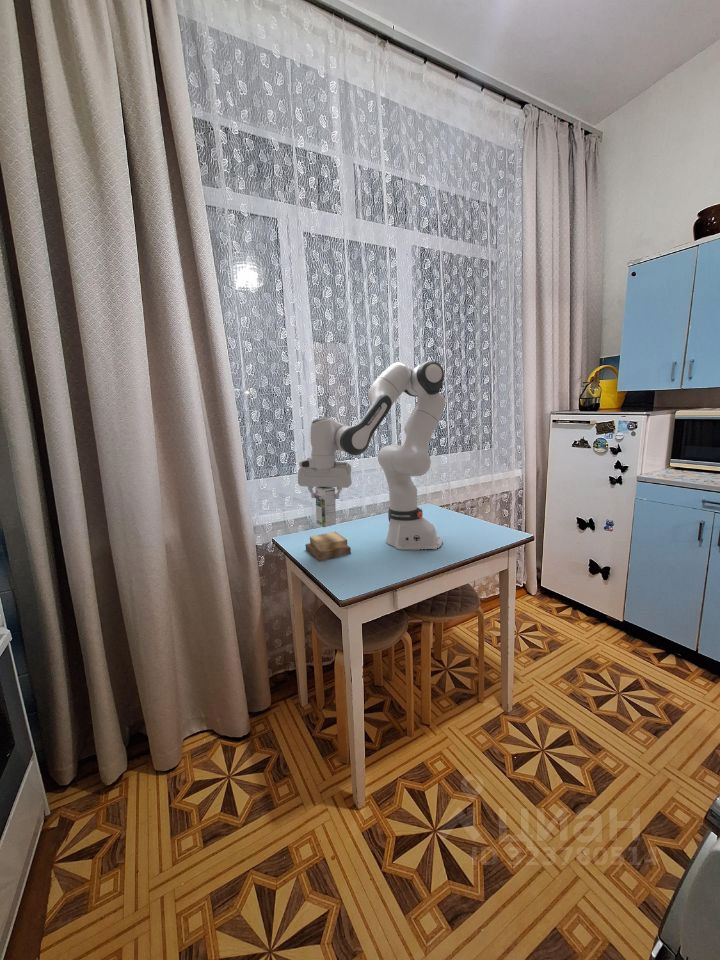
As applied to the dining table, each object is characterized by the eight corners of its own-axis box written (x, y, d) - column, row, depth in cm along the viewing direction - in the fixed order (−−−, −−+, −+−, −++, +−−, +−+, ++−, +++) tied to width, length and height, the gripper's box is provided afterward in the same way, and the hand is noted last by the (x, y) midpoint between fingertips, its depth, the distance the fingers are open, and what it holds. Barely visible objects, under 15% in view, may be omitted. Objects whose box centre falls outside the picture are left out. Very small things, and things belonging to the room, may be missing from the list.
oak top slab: (336, 538, 159) (335, 531, 158) (347, 547, 149) (347, 539, 148) (310, 543, 154) (309, 536, 153) (320, 553, 144) (320, 545, 144)
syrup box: (315, 524, 150) (314, 487, 147) (329, 521, 153) (327, 484, 150) (323, 527, 145) (321, 489, 142) (336, 524, 149) (335, 487, 146)
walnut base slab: (335, 544, 160) (335, 537, 160) (350, 554, 149) (350, 547, 149) (305, 551, 154) (305, 544, 153) (319, 562, 143) (319, 555, 142)
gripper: (353, 460, 145) (354, 497, 147) (301, 460, 150) (303, 495, 153) (348, 463, 139) (349, 501, 141) (294, 462, 144) (297, 499, 147)
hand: (325, 498), depth 147 cm, fingers closed on syrup box, 8 cm apart
